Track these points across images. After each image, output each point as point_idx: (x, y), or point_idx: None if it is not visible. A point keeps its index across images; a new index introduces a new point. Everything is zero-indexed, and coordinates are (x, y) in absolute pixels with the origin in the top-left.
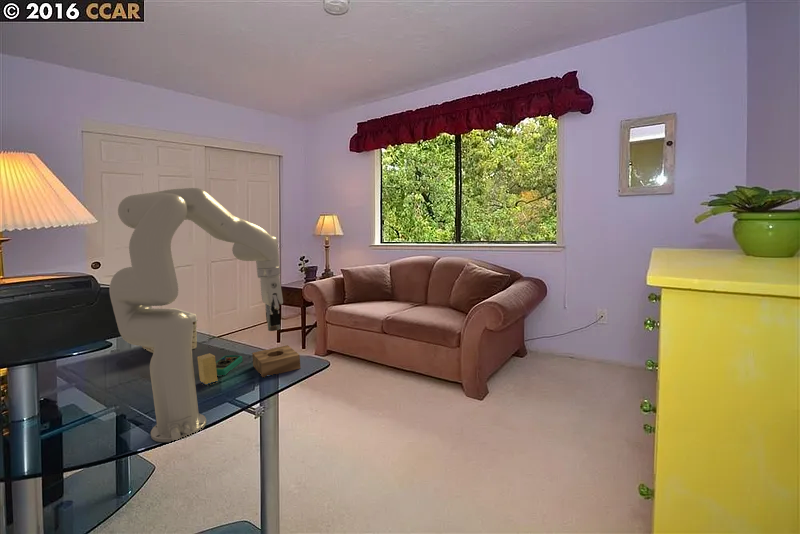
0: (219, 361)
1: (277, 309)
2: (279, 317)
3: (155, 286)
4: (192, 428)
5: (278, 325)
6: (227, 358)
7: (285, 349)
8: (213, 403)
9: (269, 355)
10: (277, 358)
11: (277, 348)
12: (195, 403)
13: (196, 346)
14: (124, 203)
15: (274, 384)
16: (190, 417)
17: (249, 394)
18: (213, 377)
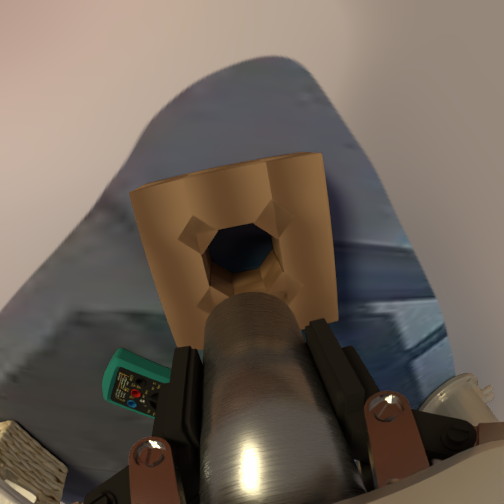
0: (151, 412)
1: (485, 429)
2: (345, 357)
3: None
4: (476, 385)
5: (289, 320)
6: (128, 395)
7: (198, 210)
8: (398, 384)
9: (216, 284)
10: (317, 259)
11: (162, 248)
12: (484, 405)
13: (11, 421)
14: None
15: (393, 260)
16: (485, 397)
17: (409, 322)
18: None
